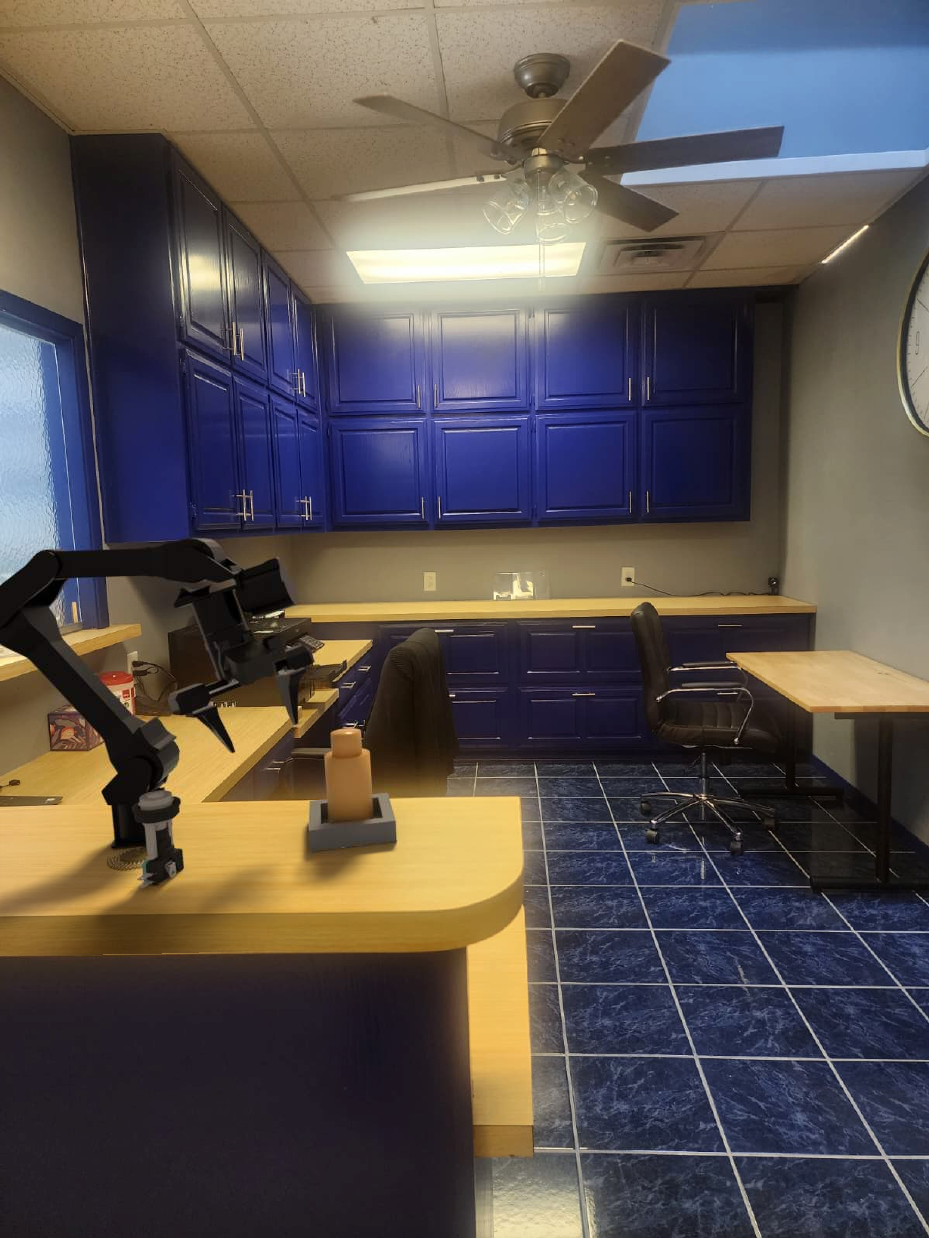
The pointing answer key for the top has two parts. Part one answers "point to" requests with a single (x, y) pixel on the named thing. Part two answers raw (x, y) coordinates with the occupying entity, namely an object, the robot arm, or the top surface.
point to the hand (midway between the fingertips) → (265, 738)
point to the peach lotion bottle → (348, 778)
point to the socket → (351, 826)
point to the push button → (159, 836)
